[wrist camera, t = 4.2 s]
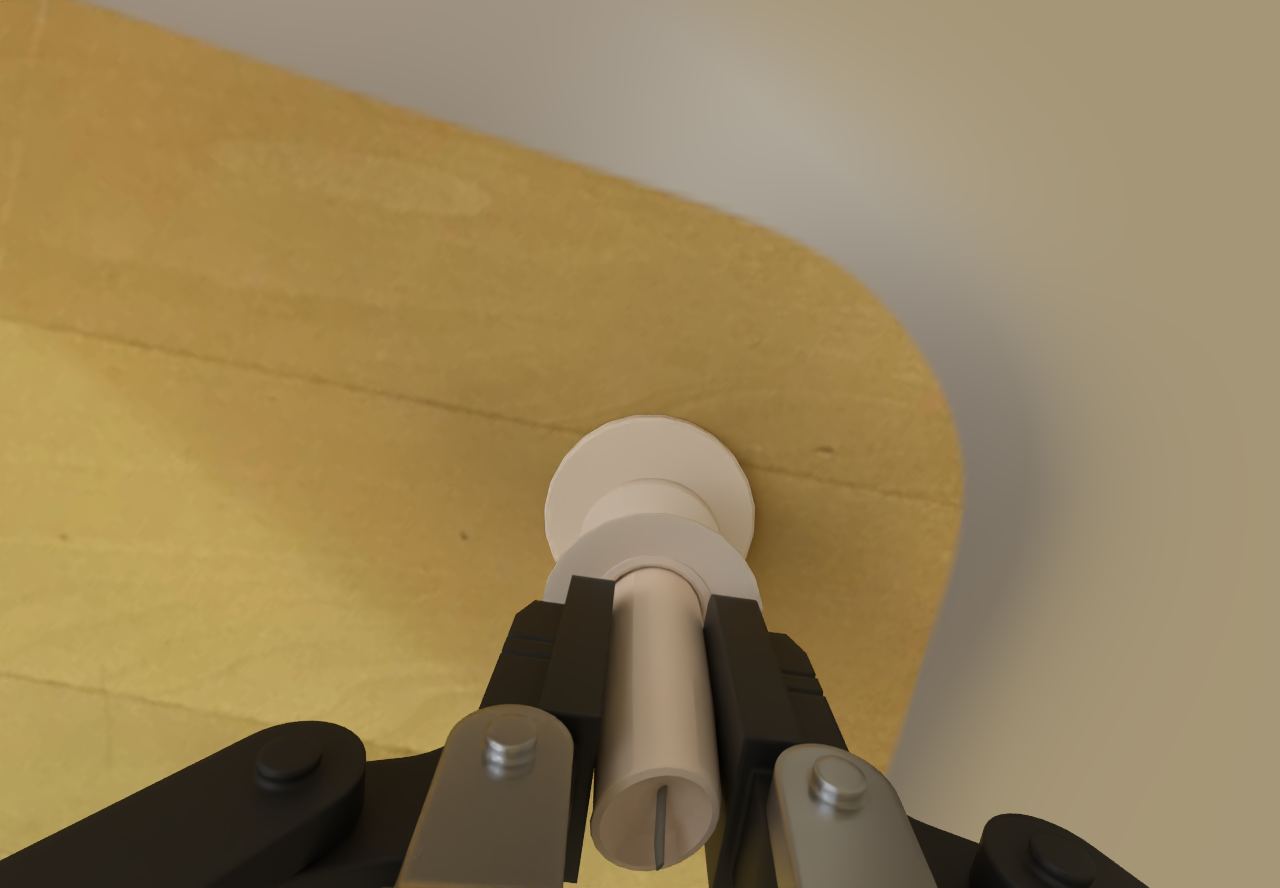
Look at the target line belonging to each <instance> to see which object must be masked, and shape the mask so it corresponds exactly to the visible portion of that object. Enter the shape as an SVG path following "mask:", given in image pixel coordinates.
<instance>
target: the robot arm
mask: <svg viewBox="0 0 1280 888" xmlns="http://www.w3.org/2000/svg"><path fill="white" fill-rule="evenodd" d="M614 591H615V581H614V580H607V579H599V578H592V577H585V576H577V575H572V577H571V581H570V585H569V589H568V593H567V597H566V601H565V604H560V603H553V602H545V601H538V600H535V601H533V602H532V603H531V604H529V605H528V606H527V607H525V608H524V609H522V610H521V611H520V612H518V613H517V614H516V615H515V618H514V621H513V623H512V626H511V628H510V631H509V633H508V637H507V638H506V641H505V643H504V646H503V649H502V653H501V654H500V656H499V659H498V661H497V664H496V666H495V669H494V671H493V674H492V676H491V679H490V682H489V684H488V687H487V689H486V692H485V694H484V697H483V699H482V702H481V704H480V707H479V710H477V711H475V712H473V713H471V714H469V715H467V716H466V717H464V718H463V719H461V720H460V721H459V722H458V723H457V724H456V725H455V726H454V727H453V729H452V730H451V731H450V733H449V736H448V738H447V740H446V743H445V746H443V747H441V748H439V749H436V750H433V751H431V752H428V753H424V754H420V755H416V756H410V757H403V758H394V759H385V760H376V761H367V762H366V751H365V748H364V745H363V743H362V741H361V740H360V738H359V737H358V736H357V735H356V734H354V733H353V732H352V731H350V730H348V729H347V728H345V727H343V726H340V725H337V724H333V723H329V722H322V721H298V722H291V723H285V724H281V725H276V726H273V727H270V728H267V729H264V730H261V731H259V732H257V733H255V734H252V735H250V736H248V737H246V738H244V739H242V740H240V741H238V742H236V743H234V744H232V745H230V746H228V747H226V748H224V749H222V750H220V751H218V752H216V753H214V754H212V755H210V756H208V757H206V758H204V759H202V760H200V761H198V762H196V763H194V764H192V765H190V766H188V767H186V768H184V769H182V770H180V771H178V772H176V773H174V774H172V775H170V776H168V777H166V778H164V779H162V780H160V781H158V782H156V783H154V784H152V785H150V786H148V787H146V788H144V789H142V790H140V791H138V792H136V793H134V794H132V795H130V796H128V797H126V798H124V799H122V800H120V801H118V802H116V803H114V804H112V805H110V806H108V807H106V808H104V809H102V810H100V811H98V812H96V813H94V814H92V815H90V816H88V817H86V818H84V819H82V820H80V821H78V822H76V823H74V824H72V825H70V826H68V827H66V828H64V829H62V830H60V831H58V832H56V833H54V834H52V835H50V836H48V837H46V838H44V839H42V840H40V841H38V842H36V843H34V844H32V845H30V846H28V847H26V848H24V849H22V850H20V851H18V852H16V853H14V854H12V855H10V856H8V857H6V858H4V859H2V860H0V888H563V882H570V883H577V879H578V872H579V866H580V859H581V852H582V846H583V839H584V832H585V825H586V819H587V812H588V805H589V799H590V792H591V785H592V778H593V772H594V765H595V758H596V752H597V745H598V738H599V731H600V725H601V718H602V708H603V699H604V689H605V679H606V669H607V659H608V650H609V640H610V630H611V620H612V610H613V600H614ZM703 633H704V639H705V646H706V653H707V660H708V667H709V674H710V681H711V689H712V696H713V703H714V713H715V725H716V736H717V748H718V759H719V771H720V782H721V794H722V802H721V815H720V818H719V821H718V824H717V827H716V829H715V831H714V832H713V833H712V835H711V836H710V838H709V839H708V841H707V842H706V843H705V854H706V863H707V873H708V883H709V888H1149V887H1148V886H1146V885H1145V884H1144V883H1142V882H1141V881H1139V880H1138V879H1137V878H1135V877H1134V876H1133V875H1131V874H1130V873H1128V872H1127V871H1126V870H1124V869H1123V868H1122V867H1120V866H1119V865H1118V864H1116V863H1115V862H1114V861H1112V860H1111V859H1109V858H1108V857H1107V856H1105V855H1104V854H1103V853H1101V852H1100V851H1099V850H1097V849H1096V848H1094V847H1093V846H1092V845H1090V844H1089V843H1087V842H1086V841H1084V840H1083V839H1081V838H1080V837H1078V836H1076V835H1074V834H1073V833H1071V832H1069V831H1068V830H1066V829H1064V828H1062V827H1059V826H1057V825H1055V824H1053V823H1050V822H1048V821H1045V820H1043V819H1039V818H1036V817H1033V816H1028V815H1023V814H1011V813H1010V814H1001V815H998V816H995V817H993V818H992V819H990V820H989V821H988V822H987V824H986V825H985V827H984V830H983V833H982V837H981V839H980V842H979V844H978V843H976V842H973V841H970V840H968V839H965V838H962V837H960V836H957V835H954V834H952V833H949V832H946V831H943V830H940V829H938V828H935V827H933V826H930V825H927V824H925V823H923V822H920V821H918V820H915V819H913V818H912V817H910V816H908V815H906V812H905V810H904V808H903V806H902V803H901V801H900V798H899V796H898V794H897V792H896V791H895V789H894V787H893V786H892V785H891V783H890V782H889V781H888V780H887V779H886V777H885V776H884V775H883V774H882V773H881V772H879V771H878V770H877V769H876V768H875V767H873V766H872V765H871V764H869V763H868V762H866V761H865V760H863V759H861V758H859V757H858V756H856V755H854V754H852V753H849V750H848V748H847V746H846V744H845V741H844V739H843V737H842V734H841V732H840V730H839V727H838V725H837V723H836V720H835V718H834V716H833V714H832V711H831V709H830V707H829V704H828V702H827V700H826V697H824V696H823V690H822V688H821V686H820V683H819V681H818V679H816V678H815V675H816V674H815V672H814V670H813V667H812V665H811V663H810V660H809V658H808V656H807V654H806V653H805V652H804V651H803V650H802V649H801V648H800V647H799V646H798V645H797V644H796V643H795V642H794V641H793V640H792V639H791V638H790V637H789V636H788V635H787V634H781V633H774V632H768V630H767V628H766V625H765V622H764V619H763V616H762V613H761V610H760V608H759V605H758V602H757V601H756V600H753V599H745V598H738V597H731V596H723V595H716V594H712V595H711V596H710V599H709V602H708V606H707V611H706V616H705V621H704V627H703Z"/></svg>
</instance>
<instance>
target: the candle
mask: <svg viewBox="0 0 1280 888" xmlns="http://www.w3.org/2000/svg"><path fill="white" fill-rule="evenodd" d="M544 511H545V532H546V537H547V540H548V543H549V546H550V549H551V552H552V555H553V558H554V560H555V561H556V565H555V566H554V568H553V570H552V572H551V573H550V575H549V577H548V579H547V583H546V587H545V591H544V595H543V599H542V601H545V602H553V603H560V604H565V601H566V597H567V593H568V589H569V585H570V581H571V577H572V575H577V576H585V577H592V578H599V579H607V580H614V581H615V591H614V600H613V610H612V620H611V630H610V640H609V650H608V659H607V669H606V679H605V689H604V699H603V708H602V718H601V725H600V731H599V738H598V745H597V752H596V758H595V765H594V794H593V813H592V816H591V819H590V831H591V836H592V839H593V841H594V844H595V846H596V848H597V849H598V851H599V852H600V853H601V854H602V855H603V856H604V857H605V858H606V859H607V860H609V861H611V862H612V863H614V864H615V865H617V866H620V867H623V868H626V869H630V870H636V871H652V870H659V869H664V868H667V867H670V866H672V865H675V864H678V863H680V862H682V861H683V860H685V859H687V858H688V857H690V856H691V855H693V854H694V853H695V852H697V851H698V850H699V849H700V848H701V847H702V846H703V845H704V844H705V843H706V842H707V841H708V839H709V838H710V836H711V835H712V833H713V832H714V831H715V829H716V827H717V824H718V821H719V818H720V815H721V802H722V794H721V782H720V771H719V759H718V748H717V736H716V725H715V713H714V703H713V696H712V689H711V681H710V674H709V667H708V660H707V653H706V646H705V639H704V633H703V627H704V621H705V616H706V611H707V606H708V602H709V599H710V596H711V595H712V594H716V595H723V596H731V597H738V598H745V599H753V600H756V601H757V602H758V605H759V608H760V610H761V613H762V606H763V605H762V601H761V597H760V593H759V589H758V586H757V582H756V578H755V576H754V574H753V573H752V571H751V569H750V568H749V566H748V564H747V562H746V561H745V559H746V557H747V554H748V551H749V547H750V544H751V541H752V538H753V535H754V522H755V505H754V501H753V497H752V493H751V489H750V485H749V481H748V479H747V477H746V475H745V474H744V472H743V470H742V468H741V467H740V465H739V463H738V461H737V460H736V458H735V456H734V455H733V453H732V452H731V451H730V450H729V449H728V448H727V447H726V446H725V445H724V444H723V443H722V442H721V441H720V440H719V439H717V438H716V437H715V436H714V435H713V434H711V433H710V432H708V431H706V430H704V429H702V428H701V427H699V426H697V425H695V424H693V423H692V422H690V421H686V420H682V419H678V418H674V417H670V416H666V415H632V416H629V417H625V418H621V419H618V420H614V421H610V422H607V423H606V424H604V425H602V426H600V427H599V428H597V429H595V430H594V431H592V432H590V433H588V434H587V435H585V436H584V437H583V438H582V439H581V440H580V441H579V442H578V443H577V444H576V445H575V446H574V447H573V448H572V449H571V450H570V451H569V452H568V453H567V454H566V455H565V456H564V458H563V460H562V462H561V464H560V466H559V467H558V469H557V471H556V473H555V475H554V476H553V478H552V480H551V482H550V486H549V491H548V495H547V499H546V503H545V508H544Z"/></svg>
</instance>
